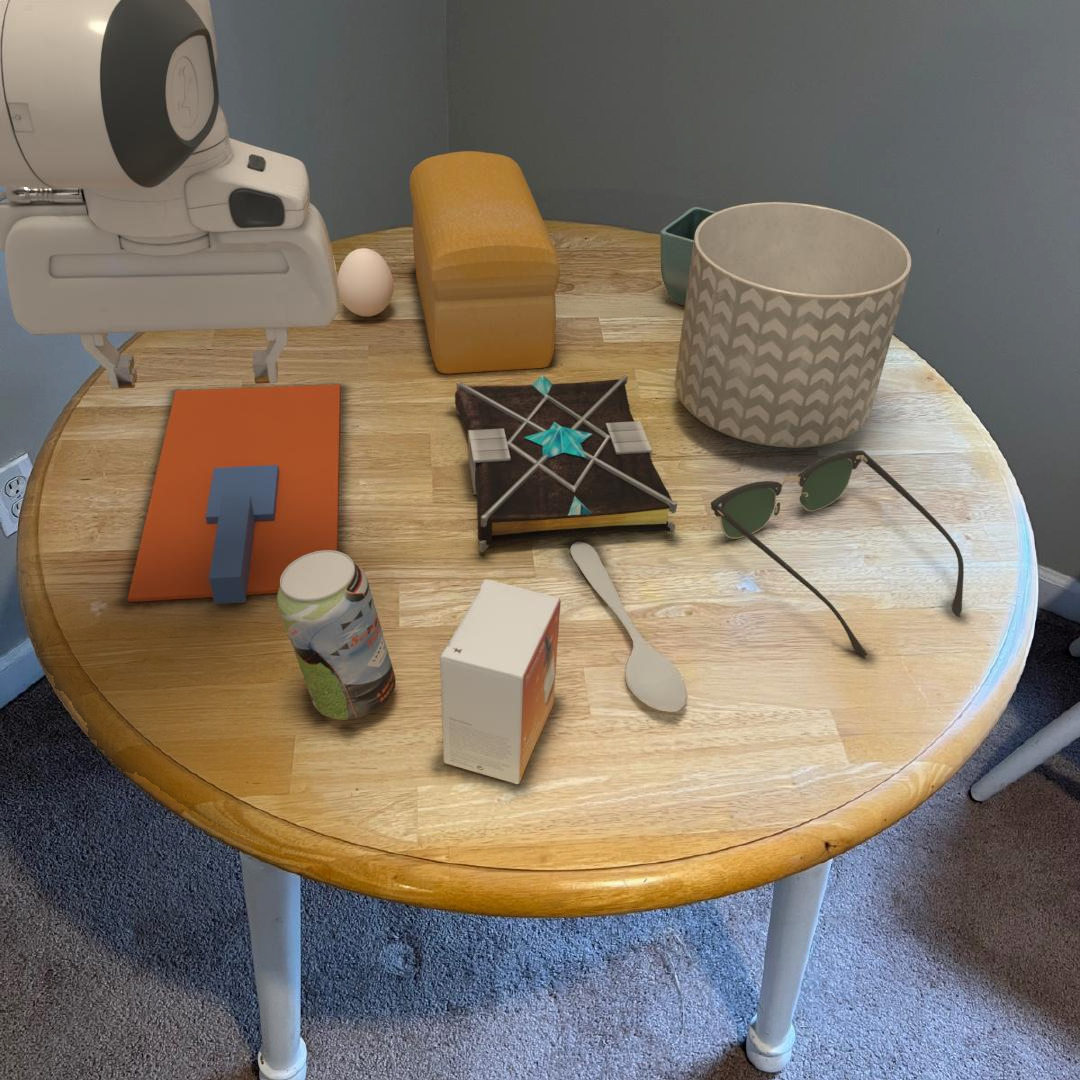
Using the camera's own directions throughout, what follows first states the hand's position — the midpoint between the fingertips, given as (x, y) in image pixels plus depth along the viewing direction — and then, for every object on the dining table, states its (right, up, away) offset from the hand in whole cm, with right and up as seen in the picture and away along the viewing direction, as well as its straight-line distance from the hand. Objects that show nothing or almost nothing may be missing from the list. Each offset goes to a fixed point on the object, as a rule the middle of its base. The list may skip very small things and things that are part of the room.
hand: (196, 382), depth 75 cm
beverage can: (+10, -22, +4) cm, 24 cm away
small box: (+21, -24, +2) cm, 32 cm away
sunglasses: (+48, -14, +16) cm, 53 cm away
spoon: (+30, -18, +10) cm, 36 cm away
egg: (+4, +14, +47) cm, 49 cm away
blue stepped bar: (-2, -10, +17) cm, 20 cm away
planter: (+46, +1, +34) cm, 57 cm away
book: (+25, -5, +25) cm, 36 cm away
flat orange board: (-3, -6, +23) cm, 23 cm away
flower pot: (+42, +17, +52) cm, 69 cm away
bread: (+17, +14, +48) cm, 52 cm away
